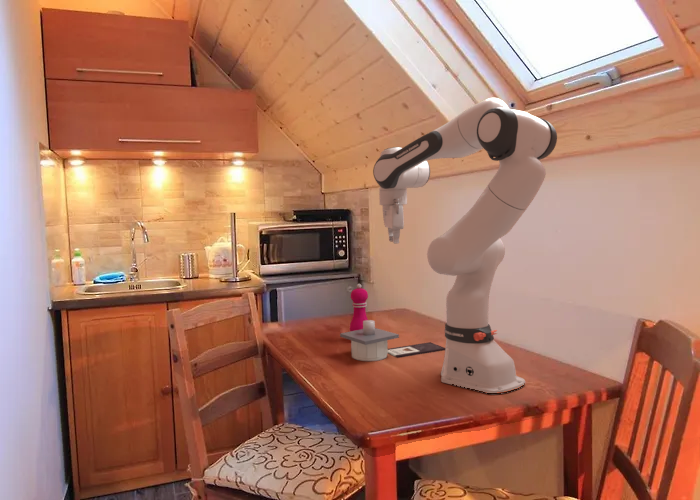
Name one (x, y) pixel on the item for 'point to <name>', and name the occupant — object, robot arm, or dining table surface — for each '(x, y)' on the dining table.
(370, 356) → the bowl
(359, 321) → the pepper mill
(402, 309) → the dining table surface
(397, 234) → the robot arm
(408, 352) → the chocolate bar
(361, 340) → the lid
